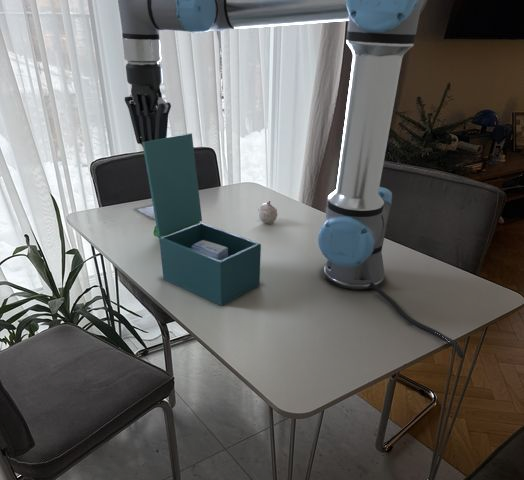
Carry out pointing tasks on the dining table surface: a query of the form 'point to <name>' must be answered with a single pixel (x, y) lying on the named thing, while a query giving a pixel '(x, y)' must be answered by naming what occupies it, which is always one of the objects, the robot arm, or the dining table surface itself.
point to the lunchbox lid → (173, 182)
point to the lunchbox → (210, 263)
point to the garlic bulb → (267, 213)
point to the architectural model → (148, 211)
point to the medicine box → (211, 249)
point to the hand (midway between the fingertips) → (154, 177)
